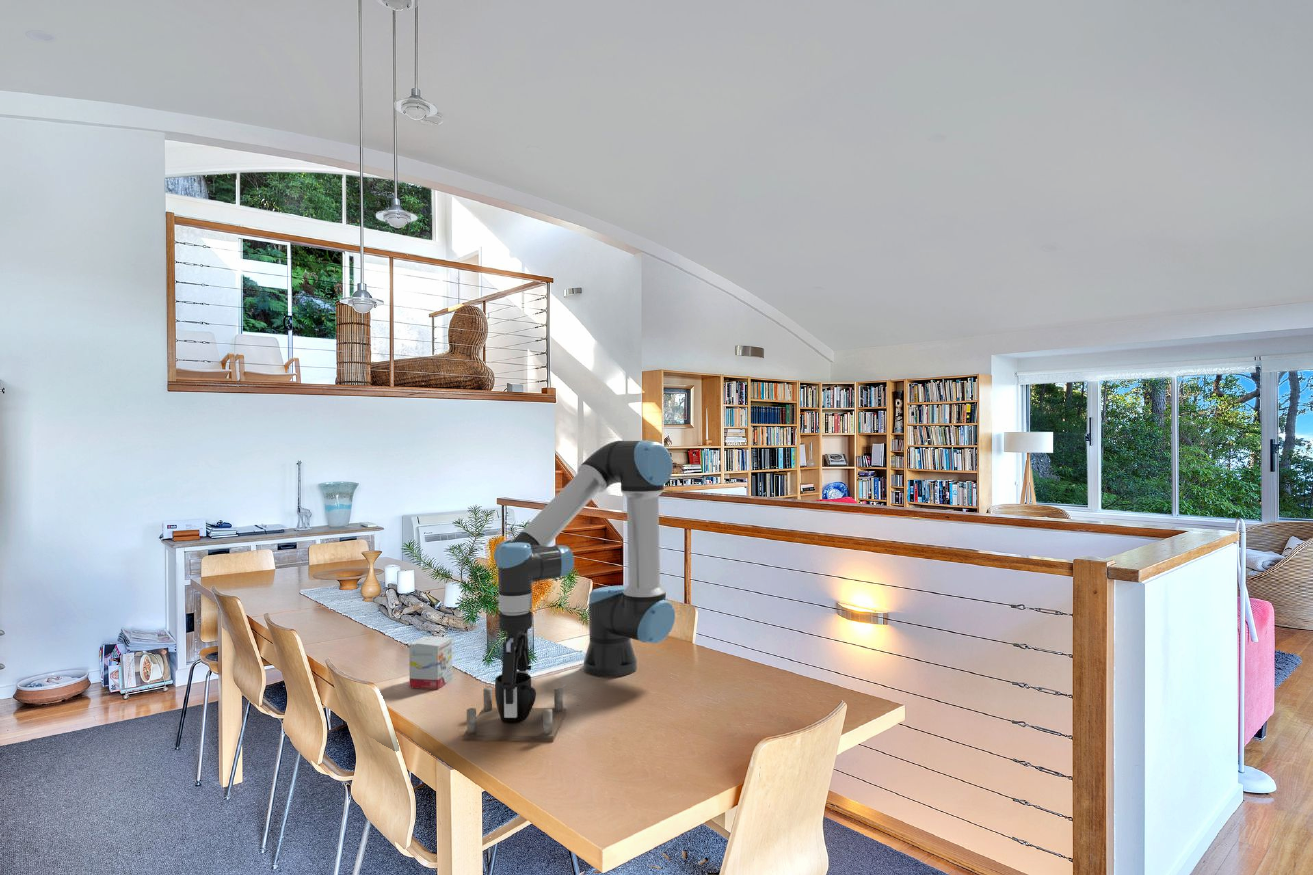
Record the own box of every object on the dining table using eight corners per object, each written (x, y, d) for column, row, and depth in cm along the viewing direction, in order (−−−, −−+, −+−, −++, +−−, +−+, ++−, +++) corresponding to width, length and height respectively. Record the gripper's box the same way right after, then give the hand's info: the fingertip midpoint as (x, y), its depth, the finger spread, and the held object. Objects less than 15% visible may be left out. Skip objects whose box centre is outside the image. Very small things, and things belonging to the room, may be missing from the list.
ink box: (438, 689, 193) (437, 645, 193) (408, 688, 195) (407, 643, 195) (453, 679, 202) (453, 635, 202) (424, 677, 204) (424, 634, 203)
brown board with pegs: (566, 713, 176) (565, 687, 176) (553, 741, 161) (553, 712, 160) (483, 712, 177) (483, 686, 177) (462, 740, 161) (462, 712, 161)
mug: (517, 734, 162) (517, 691, 161) (488, 718, 170) (488, 677, 170) (547, 723, 167) (547, 682, 167) (518, 708, 176) (518, 669, 176)
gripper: (511, 599, 180) (512, 689, 181) (485, 624, 157) (486, 727, 158) (541, 599, 180) (542, 689, 180) (519, 624, 157) (521, 727, 157)
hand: (516, 707), depth 169 cm, fingers open, 10 cm apart
